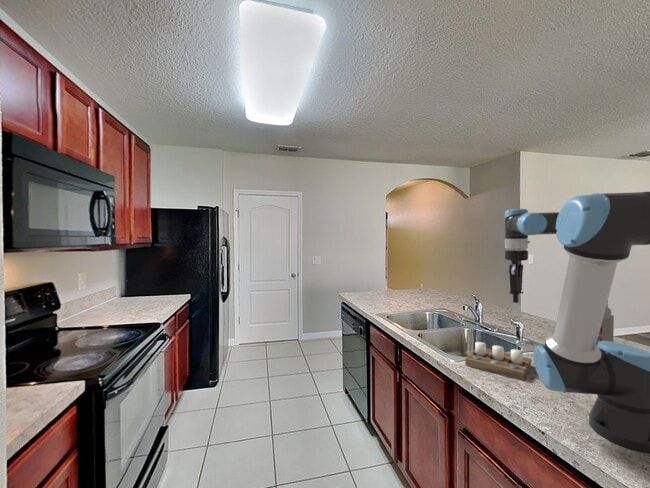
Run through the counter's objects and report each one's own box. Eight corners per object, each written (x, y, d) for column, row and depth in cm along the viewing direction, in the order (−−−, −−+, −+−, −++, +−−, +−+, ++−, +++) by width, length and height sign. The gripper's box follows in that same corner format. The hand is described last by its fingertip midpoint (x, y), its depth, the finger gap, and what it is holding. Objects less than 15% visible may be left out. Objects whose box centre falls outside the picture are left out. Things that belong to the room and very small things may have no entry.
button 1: (521, 367, 116) (521, 354, 116) (509, 364, 119) (509, 351, 118) (523, 363, 119) (523, 350, 119) (512, 360, 122) (512, 348, 121)
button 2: (502, 362, 120) (502, 349, 120) (491, 359, 123) (491, 347, 123) (504, 359, 123) (504, 346, 123) (493, 356, 126) (493, 344, 126)
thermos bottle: (605, 379, 110) (605, 302, 109) (579, 370, 117) (580, 298, 116) (618, 375, 112) (618, 300, 111) (592, 366, 120) (593, 296, 119)
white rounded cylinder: (484, 358, 125) (484, 346, 125) (474, 355, 127) (473, 343, 127) (487, 355, 128) (487, 343, 127) (477, 352, 130) (476, 341, 130)
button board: (523, 380, 111) (523, 371, 110) (465, 365, 124) (465, 357, 124) (531, 365, 122) (531, 357, 122) (477, 353, 136) (477, 346, 136)
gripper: (524, 251, 110) (524, 315, 111) (530, 248, 119) (530, 308, 121) (501, 250, 115) (501, 312, 116) (509, 248, 125) (509, 305, 126)
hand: (516, 310), depth 118 cm, fingers closed
